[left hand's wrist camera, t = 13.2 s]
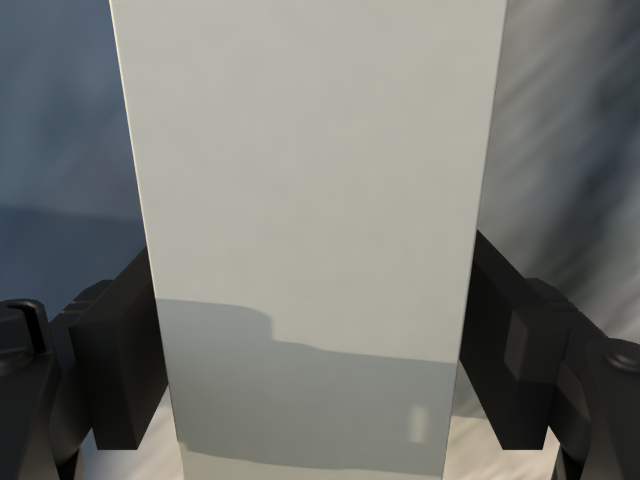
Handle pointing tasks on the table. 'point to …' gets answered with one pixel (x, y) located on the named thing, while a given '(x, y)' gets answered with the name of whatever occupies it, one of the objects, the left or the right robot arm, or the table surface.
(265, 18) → the bar
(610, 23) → the table surface
